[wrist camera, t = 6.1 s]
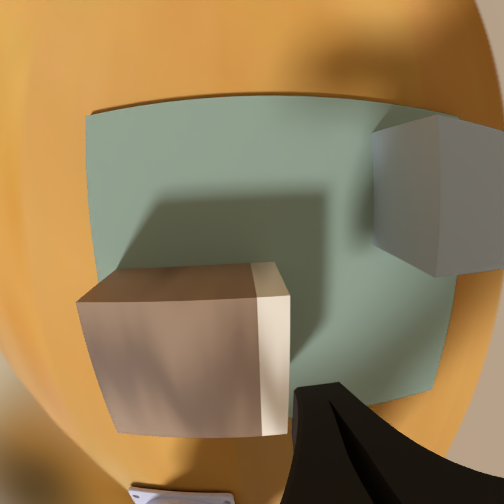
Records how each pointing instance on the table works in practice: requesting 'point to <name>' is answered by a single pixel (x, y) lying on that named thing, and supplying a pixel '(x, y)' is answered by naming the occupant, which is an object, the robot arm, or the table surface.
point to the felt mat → (274, 224)
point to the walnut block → (192, 349)
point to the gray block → (440, 195)
